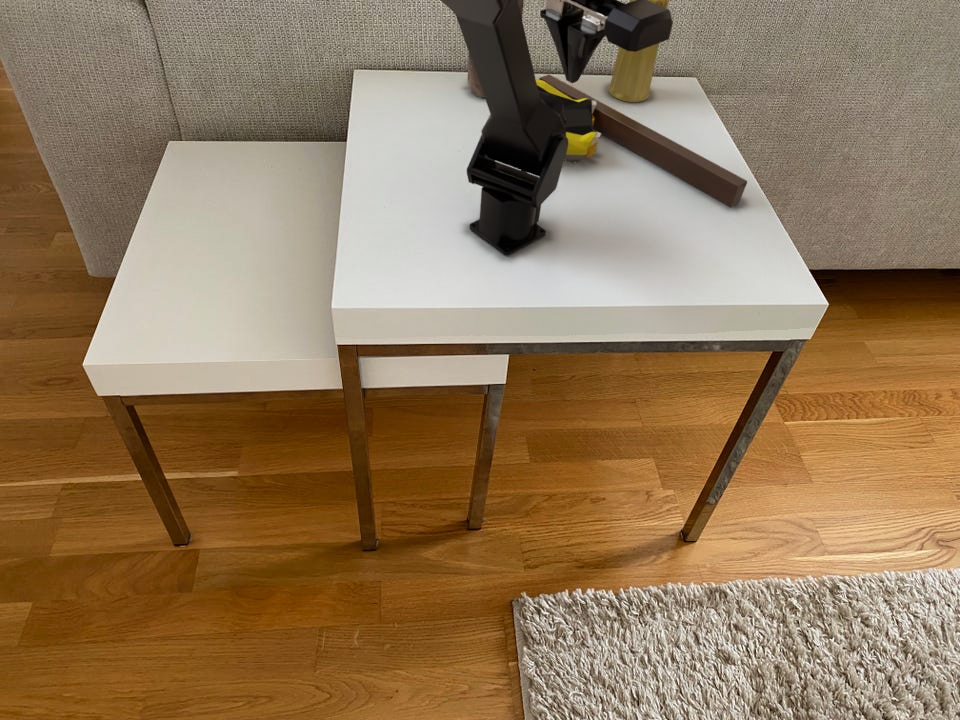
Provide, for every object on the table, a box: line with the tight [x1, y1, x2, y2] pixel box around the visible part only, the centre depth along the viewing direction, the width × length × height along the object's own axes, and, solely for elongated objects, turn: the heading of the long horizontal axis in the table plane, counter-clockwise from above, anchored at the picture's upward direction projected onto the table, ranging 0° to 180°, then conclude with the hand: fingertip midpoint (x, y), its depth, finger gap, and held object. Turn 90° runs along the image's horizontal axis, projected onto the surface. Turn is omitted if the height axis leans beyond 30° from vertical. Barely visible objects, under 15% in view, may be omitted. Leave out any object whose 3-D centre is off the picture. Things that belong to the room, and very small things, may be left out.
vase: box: [608, 0, 670, 103], centre depth 100 cm, size 6×6×14 cm
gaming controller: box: [535, 78, 602, 164], centre depth 93 cm, size 15×6×10 cm
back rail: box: [538, 74, 748, 208], centre depth 94 cm, size 2×34×3 cm, turn 42°
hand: (572, 81), depth 79 cm, fingers closed
